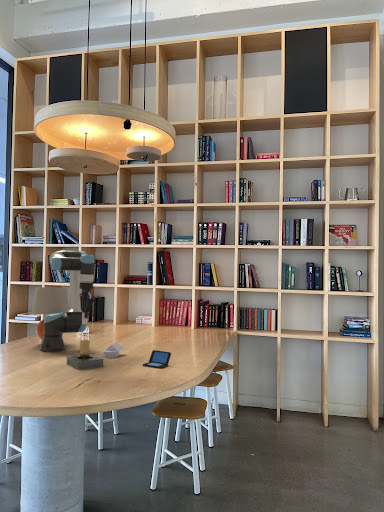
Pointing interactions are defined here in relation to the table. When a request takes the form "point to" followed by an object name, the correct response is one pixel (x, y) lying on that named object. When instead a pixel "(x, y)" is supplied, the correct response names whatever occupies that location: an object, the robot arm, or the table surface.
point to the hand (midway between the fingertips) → (84, 323)
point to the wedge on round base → (113, 351)
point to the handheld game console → (158, 359)
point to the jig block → (84, 362)
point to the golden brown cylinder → (85, 349)
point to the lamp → (49, 304)
